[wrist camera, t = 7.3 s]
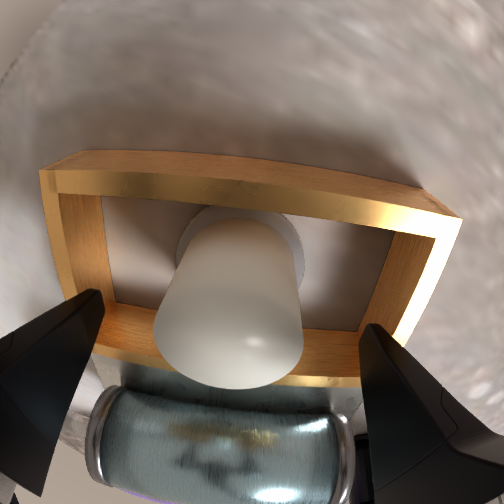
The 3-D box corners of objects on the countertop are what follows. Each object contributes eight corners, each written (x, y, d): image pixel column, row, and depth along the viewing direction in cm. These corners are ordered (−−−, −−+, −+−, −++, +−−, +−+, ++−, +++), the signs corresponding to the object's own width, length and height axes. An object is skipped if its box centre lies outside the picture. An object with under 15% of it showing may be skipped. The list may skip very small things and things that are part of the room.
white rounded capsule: (290, 311, 14) (296, 401, 10) (181, 298, 14) (151, 382, 10) (313, 208, 11) (339, 284, 7) (180, 193, 11) (129, 259, 7)
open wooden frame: (327, 430, 20) (333, 520, 13) (107, 400, 20) (77, 483, 13) (441, 194, 11) (570, 316, 4) (40, 151, 10) (-99, 231, 4)
